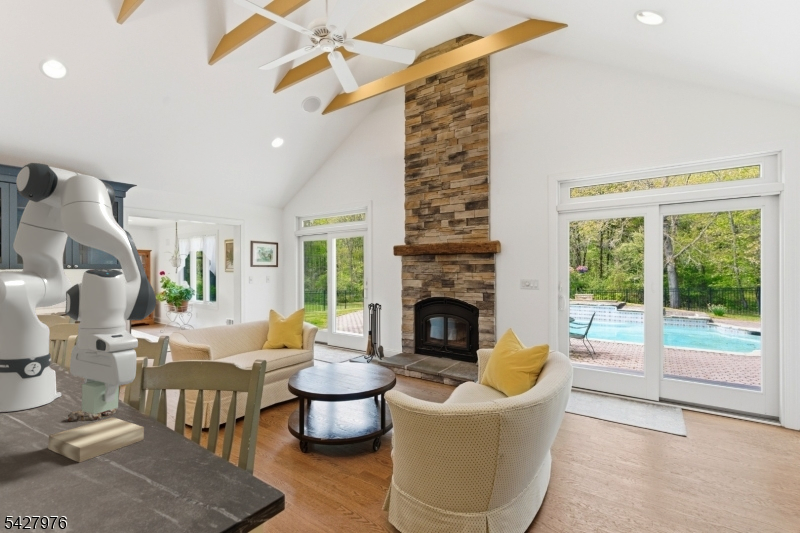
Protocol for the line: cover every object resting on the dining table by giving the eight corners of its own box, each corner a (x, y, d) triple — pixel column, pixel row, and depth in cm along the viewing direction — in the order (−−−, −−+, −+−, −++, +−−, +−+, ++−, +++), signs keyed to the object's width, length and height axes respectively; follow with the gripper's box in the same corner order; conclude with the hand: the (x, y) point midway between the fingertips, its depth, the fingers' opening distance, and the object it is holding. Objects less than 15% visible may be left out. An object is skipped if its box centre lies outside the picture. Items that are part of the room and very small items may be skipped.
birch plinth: (48, 449, 88) (48, 435, 88) (112, 429, 100) (112, 417, 100) (79, 462, 82) (80, 448, 82) (143, 439, 94) (144, 427, 94)
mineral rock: (115, 400, 115) (118, 399, 109) (115, 416, 114) (119, 416, 108) (66, 409, 108) (68, 409, 102) (67, 426, 107) (68, 426, 101)
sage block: (81, 410, 90) (82, 384, 90) (105, 404, 95) (106, 378, 95) (93, 414, 88) (94, 387, 88) (118, 407, 92) (118, 381, 92)
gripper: (62, 336, 93) (60, 395, 93) (112, 345, 84) (110, 410, 84) (92, 333, 99) (91, 389, 99) (142, 340, 90) (141, 402, 90)
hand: (100, 399), depth 91 cm, fingers closed on sage block, 5 cm apart
